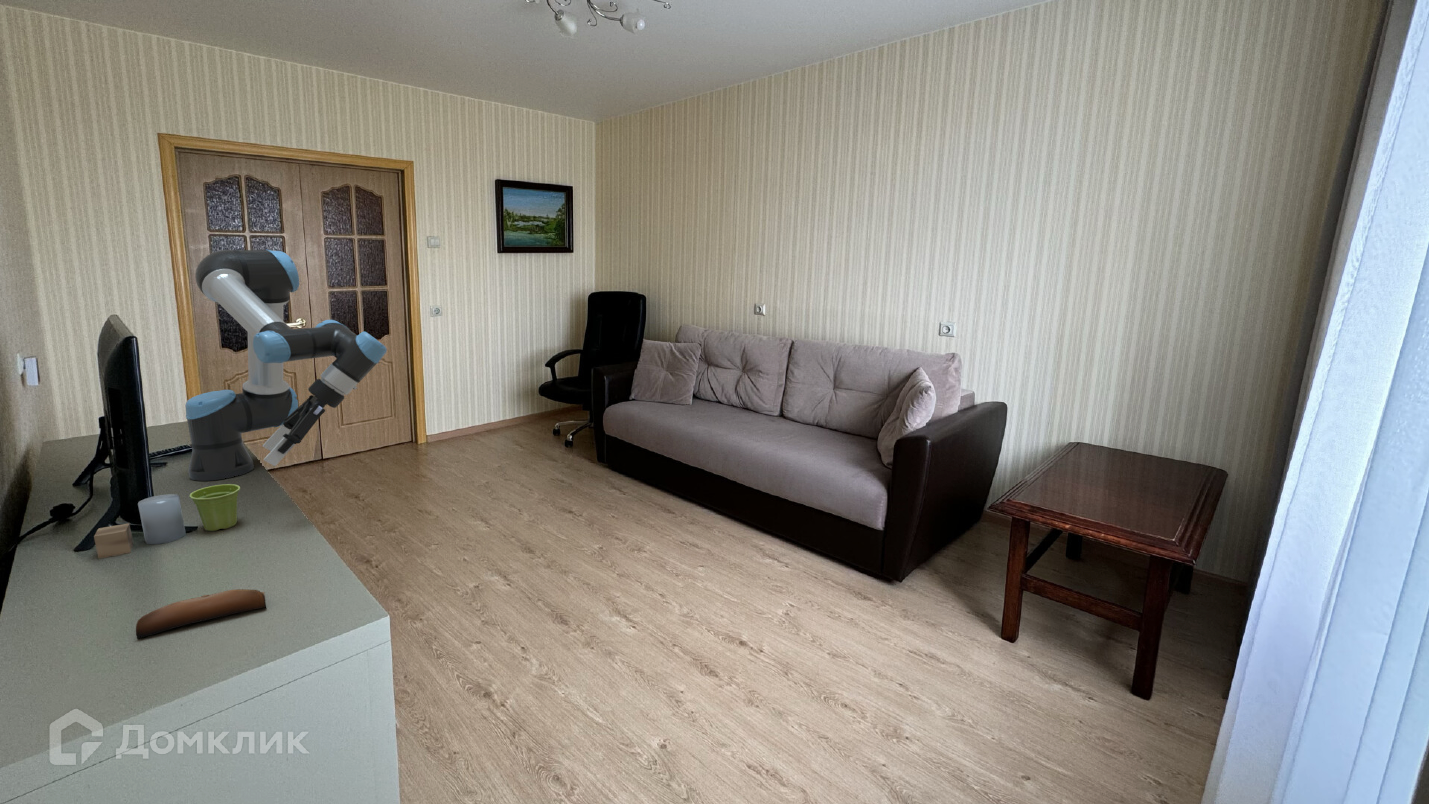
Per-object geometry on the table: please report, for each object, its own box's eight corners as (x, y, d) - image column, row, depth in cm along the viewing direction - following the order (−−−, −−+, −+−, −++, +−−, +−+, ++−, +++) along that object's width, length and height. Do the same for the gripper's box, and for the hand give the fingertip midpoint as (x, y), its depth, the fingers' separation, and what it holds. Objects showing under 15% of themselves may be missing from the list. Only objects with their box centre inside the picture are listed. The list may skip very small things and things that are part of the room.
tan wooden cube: (103, 550, 141) (98, 528, 140) (133, 544, 144) (129, 523, 143) (98, 558, 137) (93, 536, 136) (130, 552, 140) (125, 531, 139)
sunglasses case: (266, 589, 125) (262, 568, 121) (270, 621, 121) (265, 600, 117) (143, 617, 115) (134, 596, 111) (142, 653, 111) (132, 632, 107)
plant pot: (255, 519, 158) (250, 484, 156) (223, 535, 149) (216, 499, 147) (219, 517, 159) (213, 483, 157) (185, 533, 150) (178, 497, 148)
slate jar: (147, 535, 149) (140, 498, 147) (186, 528, 152) (180, 492, 150) (143, 547, 143) (135, 508, 141) (184, 539, 147) (177, 501, 145)
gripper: (352, 405, 154) (285, 478, 149) (340, 388, 174) (281, 452, 169) (323, 385, 150) (253, 459, 145) (314, 370, 170) (252, 435, 165)
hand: (268, 455), depth 157 cm, fingers open, 13 cm apart
